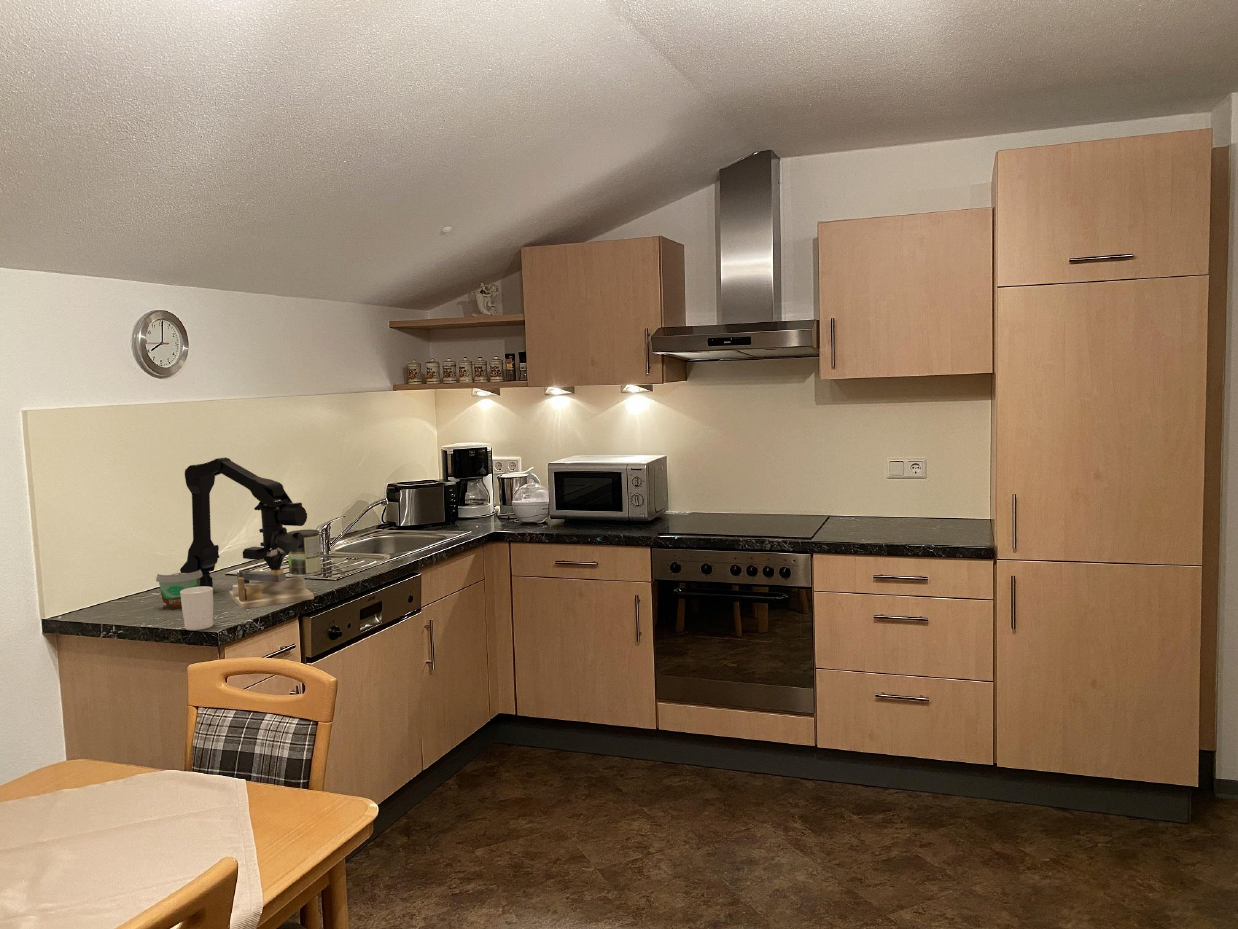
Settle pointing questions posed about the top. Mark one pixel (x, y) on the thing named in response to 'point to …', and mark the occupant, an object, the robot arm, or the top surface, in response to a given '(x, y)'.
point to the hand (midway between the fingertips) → (276, 576)
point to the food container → (176, 587)
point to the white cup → (197, 607)
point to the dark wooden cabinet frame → (263, 575)
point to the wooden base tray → (269, 592)
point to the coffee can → (306, 555)
